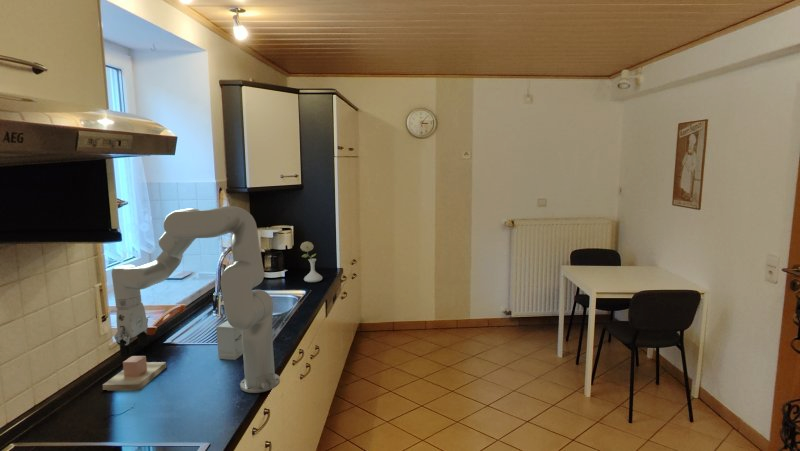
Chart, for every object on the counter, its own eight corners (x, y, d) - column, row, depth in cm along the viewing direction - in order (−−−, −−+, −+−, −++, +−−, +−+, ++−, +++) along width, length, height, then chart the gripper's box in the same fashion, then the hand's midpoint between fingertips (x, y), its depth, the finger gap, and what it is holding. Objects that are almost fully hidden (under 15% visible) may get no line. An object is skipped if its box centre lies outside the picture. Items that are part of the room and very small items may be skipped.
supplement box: (235, 360, 174) (233, 327, 172) (217, 359, 175) (215, 326, 173) (246, 352, 181) (243, 321, 179) (228, 351, 182) (226, 320, 181)
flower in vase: (325, 279, 292) (323, 239, 289) (319, 283, 281) (317, 242, 278) (305, 278, 294) (302, 239, 291) (298, 283, 283) (296, 243, 280)
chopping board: (133, 367, 169) (133, 362, 169) (166, 367, 169) (165, 362, 169) (103, 390, 152) (102, 384, 152) (139, 390, 152) (138, 384, 152)
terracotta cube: (138, 376, 158) (137, 362, 157) (124, 376, 158) (122, 362, 157) (147, 369, 163) (145, 356, 162) (133, 369, 163) (131, 356, 162)
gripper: (123, 309, 148) (130, 360, 151) (153, 294, 165) (159, 340, 168) (100, 310, 148) (108, 361, 151) (132, 295, 166) (138, 341, 168)
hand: (135, 350), depth 159 cm, fingers open, 9 cm apart
